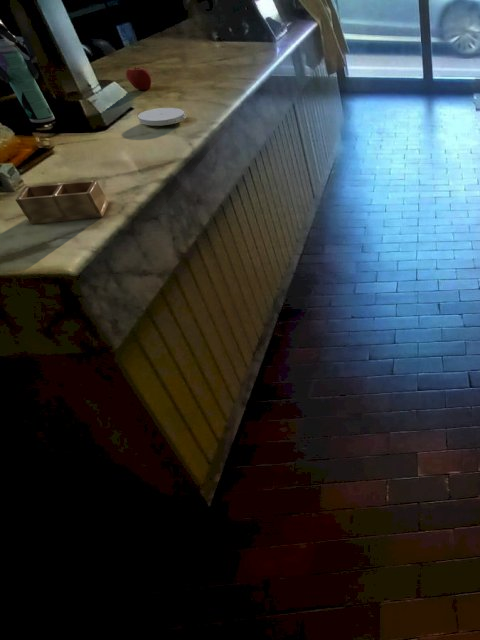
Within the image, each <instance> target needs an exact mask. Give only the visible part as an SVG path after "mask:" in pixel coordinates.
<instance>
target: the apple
mask: <svg viewBox="0 0 480 640" xmlns="http://www.w3.org/2000/svg"><path fill="white" fill-rule="evenodd" d="M125 76H126V79H127V81H129V83H130V84H131V86H132V87H133V88H134V89H136V90H138V91H147V90H149V89H150V88H151V86H152V75H151V74H150V72H149V71H148V70H147V69H146V68H145V67H142V66H141V67H140V66H133V67H130V68H128V69H127V70H126V71H125Z"/></svg>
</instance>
